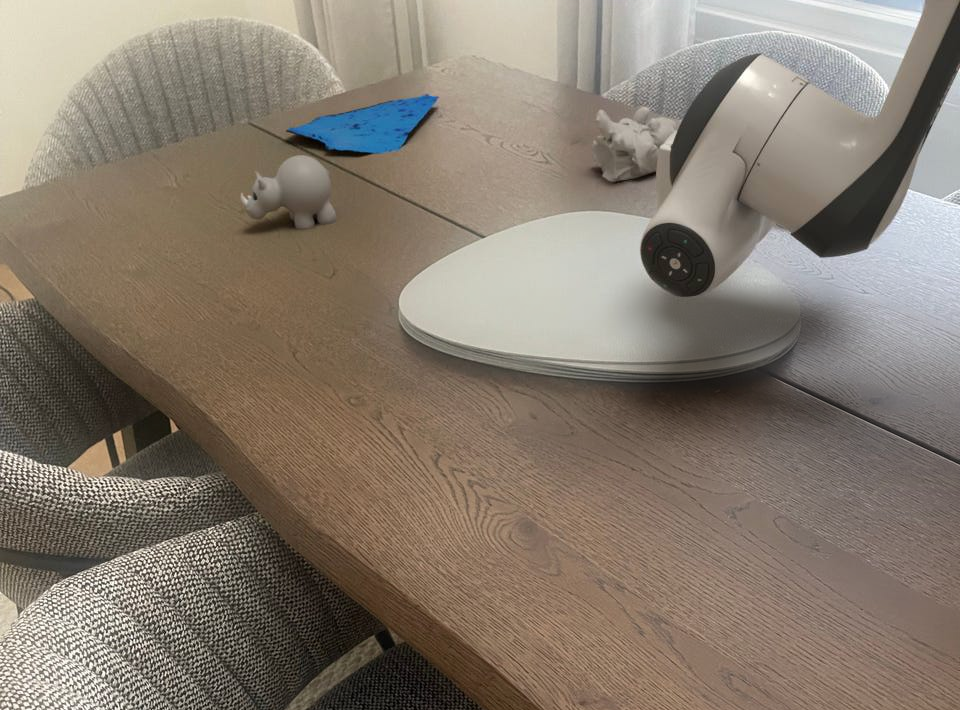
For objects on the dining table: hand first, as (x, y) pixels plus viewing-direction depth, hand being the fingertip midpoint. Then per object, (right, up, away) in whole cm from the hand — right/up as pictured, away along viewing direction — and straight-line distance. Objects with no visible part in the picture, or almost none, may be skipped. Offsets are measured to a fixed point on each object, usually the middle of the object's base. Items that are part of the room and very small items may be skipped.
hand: (790, 137), depth 98 cm
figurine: (-10, +12, +34) cm, 38 cm away
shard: (-50, +29, +55) cm, 80 cm away
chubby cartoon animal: (-57, +4, +32) cm, 65 cm away
